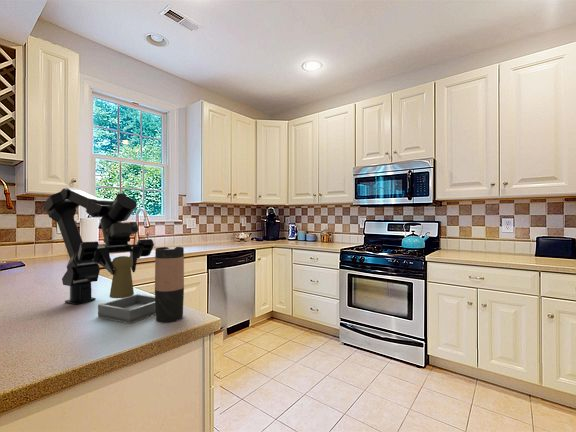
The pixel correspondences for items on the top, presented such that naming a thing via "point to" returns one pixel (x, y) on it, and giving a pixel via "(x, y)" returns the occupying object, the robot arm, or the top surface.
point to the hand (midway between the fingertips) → (124, 272)
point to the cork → (122, 278)
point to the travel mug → (169, 284)
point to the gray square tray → (128, 308)
